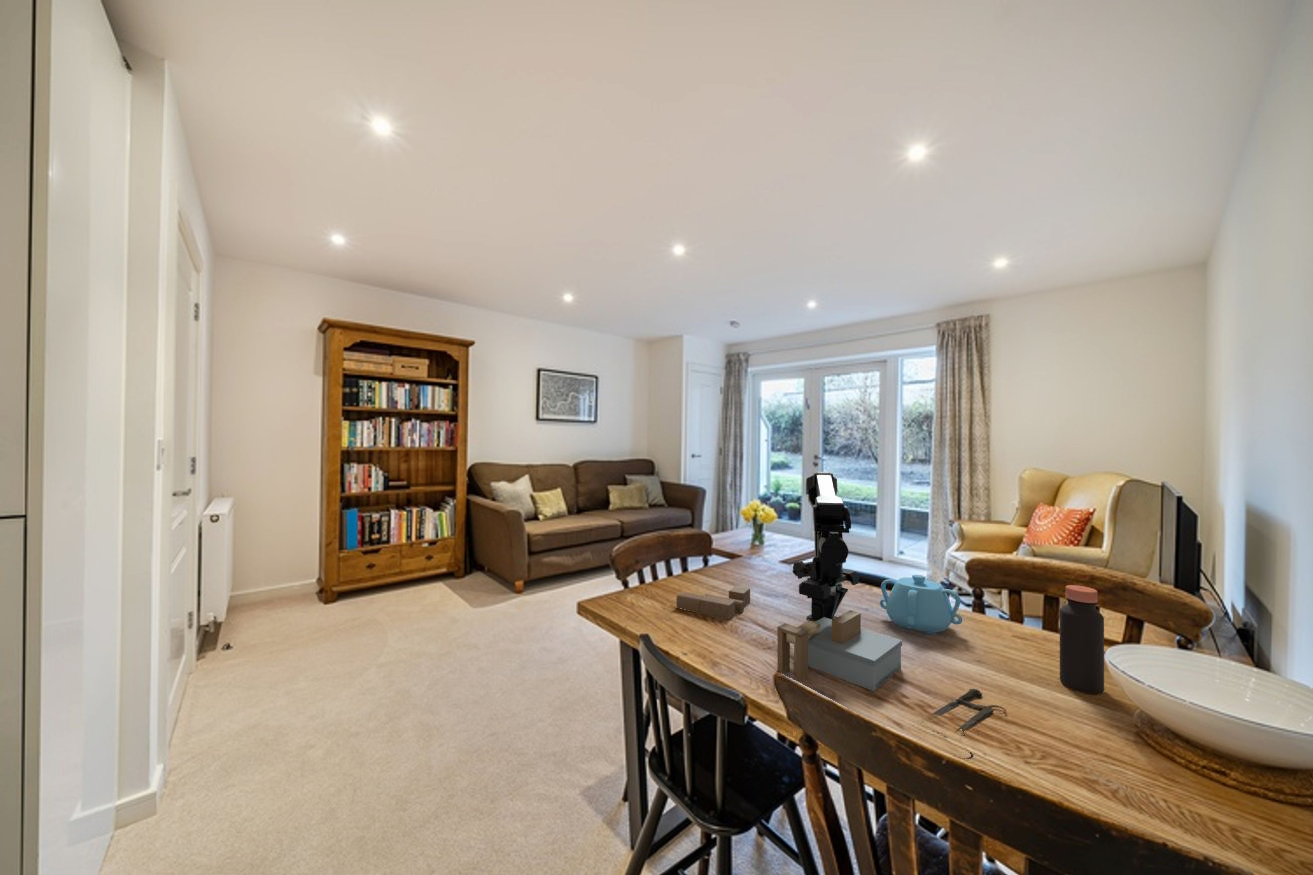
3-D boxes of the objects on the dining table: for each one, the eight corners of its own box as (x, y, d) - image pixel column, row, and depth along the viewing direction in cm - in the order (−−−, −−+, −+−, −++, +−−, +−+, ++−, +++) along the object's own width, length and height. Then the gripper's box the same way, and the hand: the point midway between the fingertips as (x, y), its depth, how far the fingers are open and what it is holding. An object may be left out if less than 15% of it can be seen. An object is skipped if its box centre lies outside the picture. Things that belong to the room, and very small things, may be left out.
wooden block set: (731, 602, 133) (675, 591, 142) (731, 622, 133) (675, 610, 142) (753, 585, 147) (701, 577, 157) (753, 604, 147) (701, 594, 157)
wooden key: (810, 629, 110) (810, 620, 110) (819, 632, 109) (819, 623, 109) (786, 641, 103) (786, 632, 104) (796, 645, 102) (796, 635, 102)
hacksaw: (972, 692, 96) (972, 685, 96) (1033, 718, 87) (1033, 710, 87) (902, 731, 83) (902, 722, 83) (965, 765, 75) (965, 755, 75)
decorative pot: (933, 615, 137) (933, 567, 137) (968, 638, 121) (967, 584, 121) (876, 614, 138) (875, 567, 138) (902, 637, 122) (902, 584, 122)
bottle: (1069, 675, 102) (1069, 581, 102) (1110, 690, 96) (1110, 590, 96) (1053, 682, 99) (1052, 586, 99) (1094, 698, 93) (1094, 595, 93)
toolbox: (824, 642, 118) (824, 603, 118) (900, 668, 105) (900, 624, 105) (776, 670, 104) (776, 626, 104) (858, 704, 91) (858, 653, 91)
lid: (824, 626, 119) (824, 599, 119) (902, 650, 105) (902, 619, 105) (792, 642, 109) (792, 613, 109) (874, 671, 95) (874, 638, 95)
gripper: (818, 542, 126) (818, 600, 126) (778, 553, 114) (778, 619, 114) (859, 549, 118) (859, 612, 118) (822, 562, 106) (822, 633, 106)
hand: (829, 618), depth 114 cm, fingers closed
